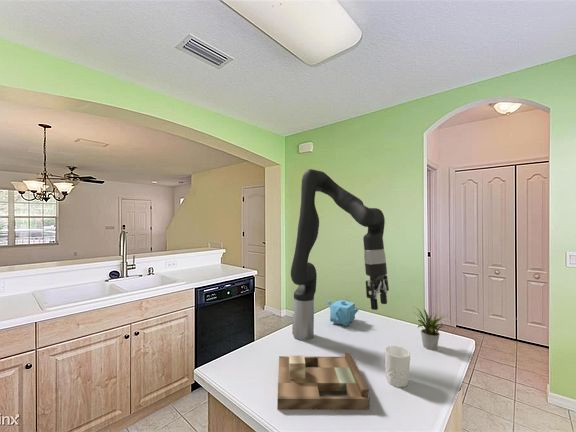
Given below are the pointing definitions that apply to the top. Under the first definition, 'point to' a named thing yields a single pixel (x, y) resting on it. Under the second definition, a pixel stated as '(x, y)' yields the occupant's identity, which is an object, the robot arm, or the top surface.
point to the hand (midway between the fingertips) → (379, 306)
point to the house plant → (429, 331)
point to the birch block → (296, 367)
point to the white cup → (397, 365)
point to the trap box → (323, 385)
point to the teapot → (342, 312)
